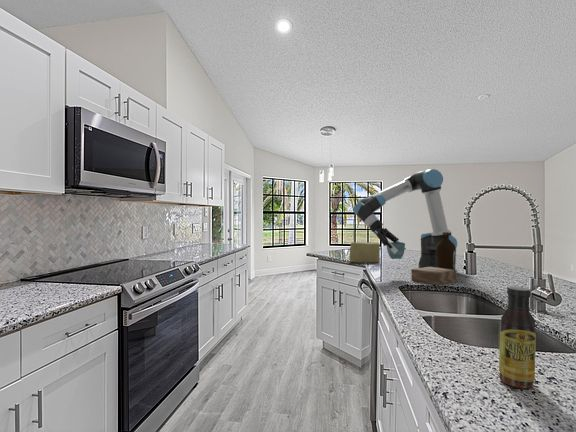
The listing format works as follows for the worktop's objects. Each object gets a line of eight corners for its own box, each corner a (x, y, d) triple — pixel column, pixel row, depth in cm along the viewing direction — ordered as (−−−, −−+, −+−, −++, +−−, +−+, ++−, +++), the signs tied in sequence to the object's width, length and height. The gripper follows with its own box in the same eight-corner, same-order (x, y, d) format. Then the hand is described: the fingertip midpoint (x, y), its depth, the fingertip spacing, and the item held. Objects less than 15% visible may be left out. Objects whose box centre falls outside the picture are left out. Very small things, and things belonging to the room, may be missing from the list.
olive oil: (436, 276, 198) (435, 232, 198) (436, 273, 207) (435, 231, 207) (456, 277, 193) (456, 232, 193) (456, 274, 203) (455, 232, 203)
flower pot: (402, 257, 200) (401, 242, 200) (405, 259, 191) (405, 243, 191) (386, 257, 201) (386, 242, 201) (389, 259, 192) (389, 243, 192)
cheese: (349, 262, 261) (349, 242, 261) (350, 261, 271) (349, 242, 271) (380, 263, 257) (379, 242, 257) (379, 261, 266) (378, 242, 267)
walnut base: (430, 277, 196) (430, 266, 196) (456, 281, 182) (456, 270, 182) (411, 280, 187) (411, 269, 187) (438, 285, 174) (437, 273, 174)
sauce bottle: (502, 387, 70) (501, 289, 70) (496, 374, 76) (494, 284, 76) (541, 393, 68) (539, 292, 68) (531, 379, 74) (530, 285, 74)
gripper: (378, 227, 215) (403, 253, 205) (360, 229, 196) (387, 258, 186) (386, 218, 211) (412, 244, 202) (369, 219, 193) (397, 248, 183)
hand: (400, 251), depth 194 cm, fingers closed on flower pot, 11 cm apart
